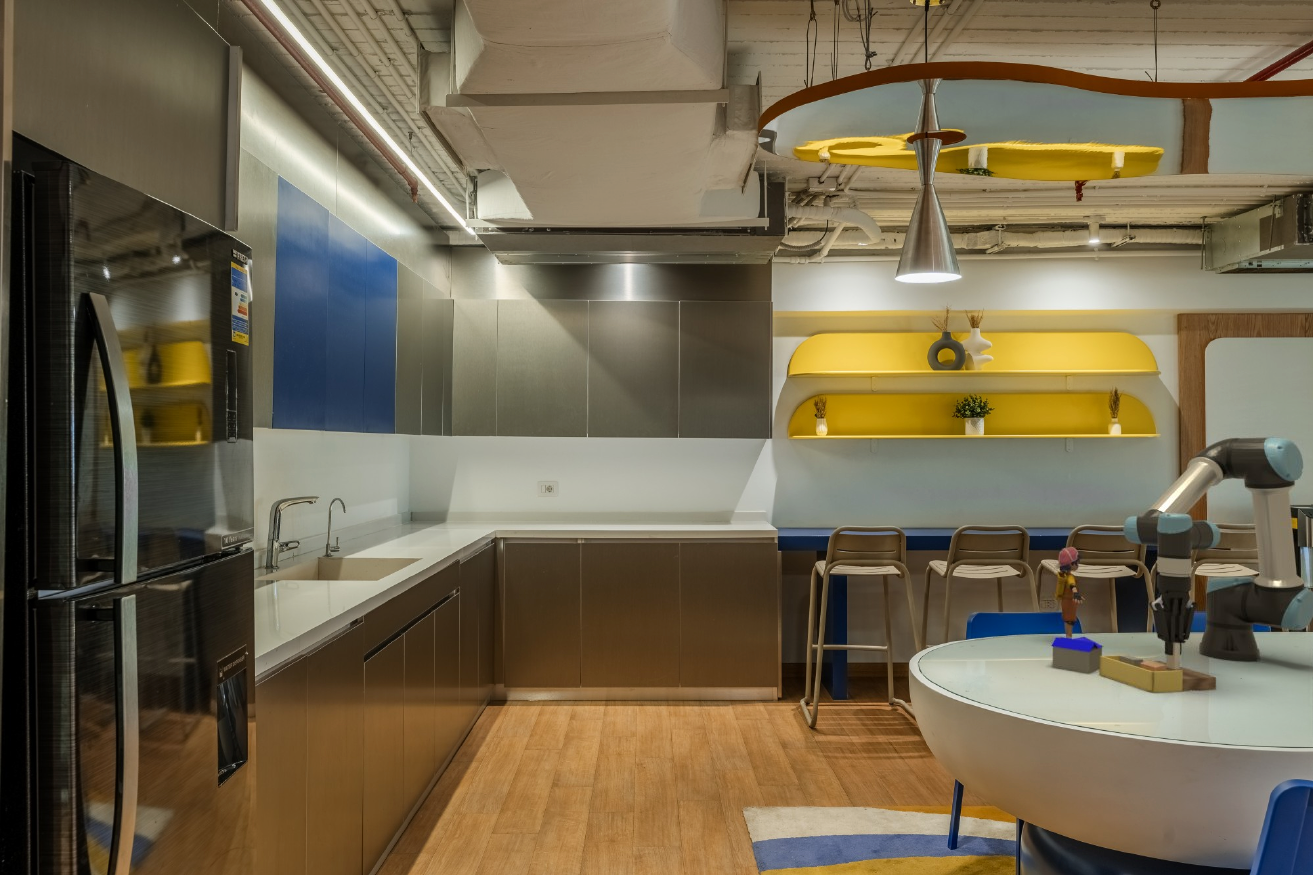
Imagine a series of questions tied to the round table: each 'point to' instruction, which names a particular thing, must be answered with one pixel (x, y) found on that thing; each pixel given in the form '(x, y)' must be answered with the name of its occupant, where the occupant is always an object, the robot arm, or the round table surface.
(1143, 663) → the peach block
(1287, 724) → the round table surface
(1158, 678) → the yellow tray
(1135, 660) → the grey square block
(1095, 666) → the house
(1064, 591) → the toy
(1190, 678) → the walnut board
